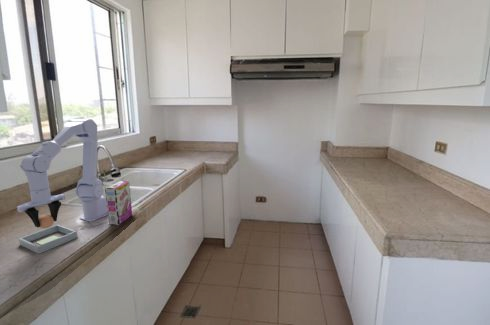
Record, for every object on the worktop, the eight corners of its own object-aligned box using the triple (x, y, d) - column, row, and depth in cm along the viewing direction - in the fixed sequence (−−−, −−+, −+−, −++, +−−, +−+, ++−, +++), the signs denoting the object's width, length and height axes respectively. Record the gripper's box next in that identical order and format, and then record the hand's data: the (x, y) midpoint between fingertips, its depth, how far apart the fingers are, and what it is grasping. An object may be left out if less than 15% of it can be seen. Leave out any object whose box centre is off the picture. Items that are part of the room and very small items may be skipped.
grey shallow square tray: (58, 230, 109) (57, 224, 109) (77, 237, 103) (76, 231, 103) (20, 244, 98) (18, 238, 98) (38, 253, 92) (37, 247, 91)
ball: (51, 223, 103) (48, 211, 102) (57, 226, 100) (55, 214, 99) (35, 228, 99) (33, 216, 98) (41, 232, 96) (39, 219, 95)
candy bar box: (119, 225, 113) (115, 188, 109) (108, 225, 113) (103, 188, 110) (133, 215, 124) (129, 180, 120) (123, 214, 124) (119, 180, 121)
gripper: (55, 182, 104) (61, 214, 107) (9, 192, 92) (17, 229, 95) (65, 184, 101) (71, 217, 104) (19, 195, 89) (27, 233, 92)
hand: (46, 223), depth 99 cm, fingers closed on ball, 5 cm apart
